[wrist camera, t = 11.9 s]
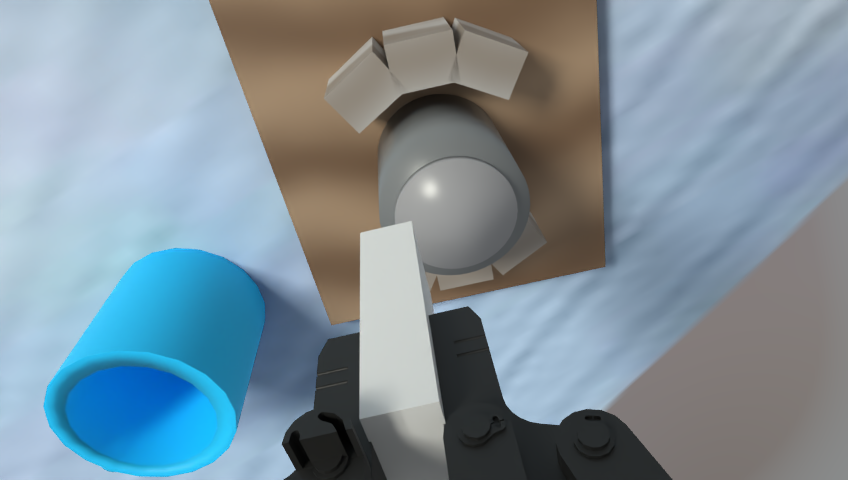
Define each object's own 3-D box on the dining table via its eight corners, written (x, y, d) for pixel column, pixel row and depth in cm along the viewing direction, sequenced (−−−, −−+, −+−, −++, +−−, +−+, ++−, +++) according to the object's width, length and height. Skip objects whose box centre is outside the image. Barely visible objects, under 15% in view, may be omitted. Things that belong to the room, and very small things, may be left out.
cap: (363, 110, 25) (361, 165, 20) (490, 80, 25) (523, 127, 20) (393, 220, 28) (399, 294, 23) (507, 194, 28) (539, 262, 23)
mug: (149, 222, 29) (78, 321, 22) (290, 288, 32) (268, 394, 25) (75, 369, 33) (-3, 490, 26) (204, 415, 36) (164, 535, 29)
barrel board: (212, -12, 23) (184, 1, 20) (583, -99, 23) (623, -102, 19) (332, 312, 33) (328, 361, 29) (597, 255, 32) (626, 298, 29)
